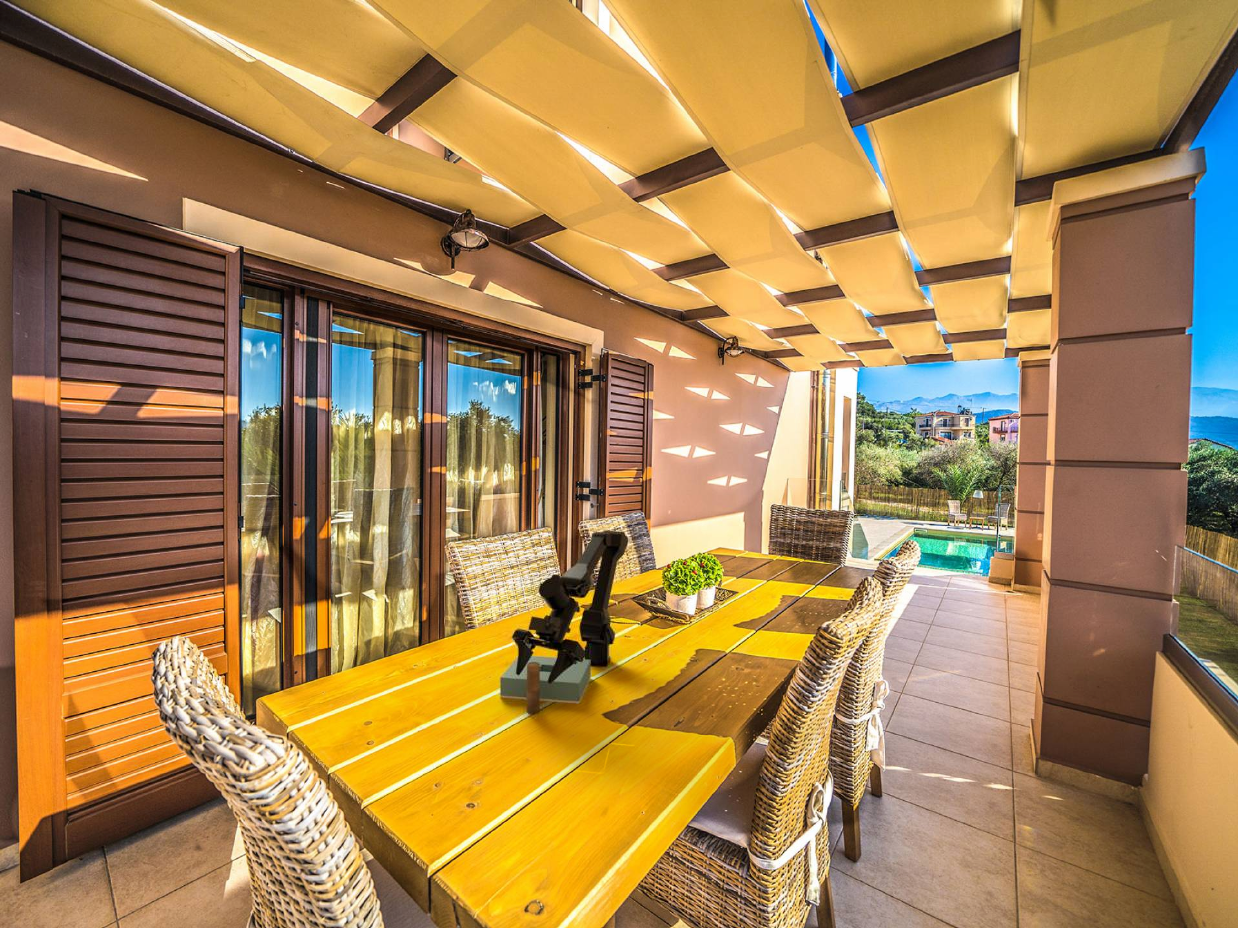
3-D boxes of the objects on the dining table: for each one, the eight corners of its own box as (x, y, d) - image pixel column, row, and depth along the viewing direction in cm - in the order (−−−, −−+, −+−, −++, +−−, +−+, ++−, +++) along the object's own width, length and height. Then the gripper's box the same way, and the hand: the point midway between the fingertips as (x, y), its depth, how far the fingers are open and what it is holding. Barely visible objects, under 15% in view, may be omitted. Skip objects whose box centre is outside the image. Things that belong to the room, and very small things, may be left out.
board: (590, 678, 136) (590, 659, 136) (579, 703, 122) (579, 683, 122) (519, 672, 139) (519, 654, 139) (500, 697, 125) (500, 677, 125)
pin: (541, 708, 120) (541, 662, 120) (537, 714, 117) (537, 667, 117) (528, 707, 121) (529, 661, 120) (524, 713, 118) (525, 666, 117)
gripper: (516, 596, 127) (485, 655, 118) (579, 607, 119) (551, 672, 109) (535, 618, 134) (507, 675, 125) (596, 631, 126) (571, 693, 116)
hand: (532, 678), depth 119 cm, fingers open, 9 cm apart
